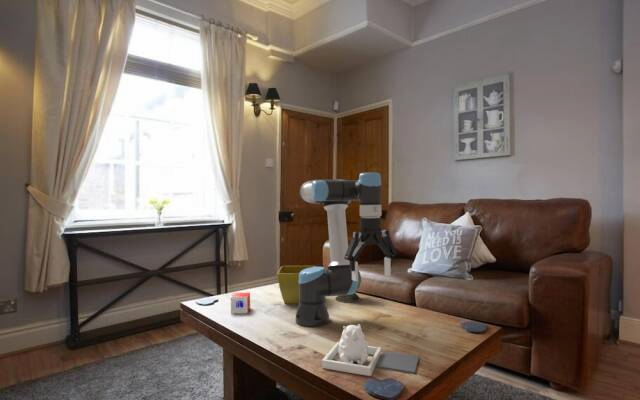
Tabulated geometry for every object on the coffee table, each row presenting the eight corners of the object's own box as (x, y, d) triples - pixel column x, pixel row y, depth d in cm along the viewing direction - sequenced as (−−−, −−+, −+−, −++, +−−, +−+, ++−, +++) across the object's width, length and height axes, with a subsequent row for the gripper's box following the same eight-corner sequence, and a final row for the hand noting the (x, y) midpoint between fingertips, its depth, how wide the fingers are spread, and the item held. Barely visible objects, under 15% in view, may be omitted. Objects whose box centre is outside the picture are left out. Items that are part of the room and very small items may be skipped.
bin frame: (322, 367, 117) (321, 360, 117) (337, 348, 132) (337, 341, 132) (370, 376, 111) (370, 368, 111) (381, 354, 126) (381, 347, 126)
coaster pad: (376, 367, 116) (376, 365, 116) (383, 352, 128) (383, 350, 128) (414, 373, 112) (414, 371, 112) (418, 357, 123) (418, 355, 123)
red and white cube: (250, 308, 182) (250, 292, 182) (247, 313, 174) (247, 296, 174) (234, 308, 181) (233, 292, 181) (230, 313, 173) (230, 297, 173)
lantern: (329, 298, 196) (329, 252, 196) (349, 294, 205) (348, 250, 205) (346, 304, 185) (346, 255, 185) (366, 299, 194) (366, 252, 194)
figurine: (336, 355, 126) (335, 321, 126) (364, 354, 127) (363, 320, 127) (340, 369, 116) (339, 331, 116) (370, 367, 117) (369, 330, 117)
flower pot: (314, 305, 184) (314, 272, 184) (277, 305, 184) (276, 273, 184) (315, 295, 203) (315, 265, 203) (281, 295, 204) (281, 266, 203)
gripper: (344, 219, 117) (345, 284, 117) (406, 216, 128) (407, 276, 128) (333, 218, 124) (334, 280, 123) (393, 215, 134) (394, 272, 134)
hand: (371, 278), depth 126 cm, fingers open, 13 cm apart
